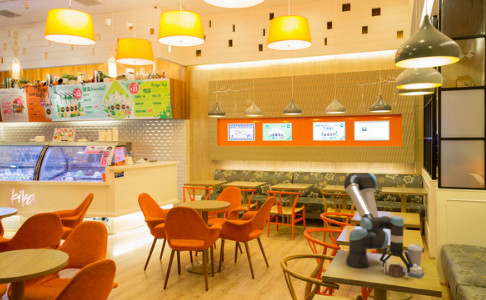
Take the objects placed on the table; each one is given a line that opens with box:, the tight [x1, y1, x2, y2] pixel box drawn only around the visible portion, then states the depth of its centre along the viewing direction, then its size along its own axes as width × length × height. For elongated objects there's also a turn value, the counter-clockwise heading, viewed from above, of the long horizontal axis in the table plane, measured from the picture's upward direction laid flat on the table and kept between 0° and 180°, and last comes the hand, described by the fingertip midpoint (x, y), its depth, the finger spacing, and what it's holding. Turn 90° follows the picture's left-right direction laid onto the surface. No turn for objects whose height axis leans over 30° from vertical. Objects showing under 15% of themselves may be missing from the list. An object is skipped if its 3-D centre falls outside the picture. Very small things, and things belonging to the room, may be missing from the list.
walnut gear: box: [388, 263, 404, 278], centre depth 248 cm, size 8×8×6 cm
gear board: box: [397, 261, 425, 279], centre depth 252 cm, size 18×9×7 cm, turn 49°
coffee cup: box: [407, 243, 423, 268], centre depth 263 cm, size 10×10×15 cm
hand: (395, 275), depth 248 cm, fingers open, 13 cm apart
